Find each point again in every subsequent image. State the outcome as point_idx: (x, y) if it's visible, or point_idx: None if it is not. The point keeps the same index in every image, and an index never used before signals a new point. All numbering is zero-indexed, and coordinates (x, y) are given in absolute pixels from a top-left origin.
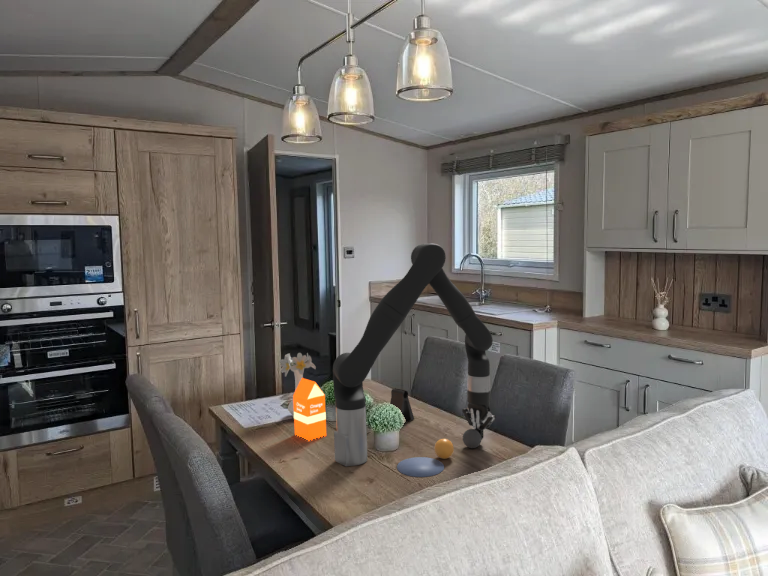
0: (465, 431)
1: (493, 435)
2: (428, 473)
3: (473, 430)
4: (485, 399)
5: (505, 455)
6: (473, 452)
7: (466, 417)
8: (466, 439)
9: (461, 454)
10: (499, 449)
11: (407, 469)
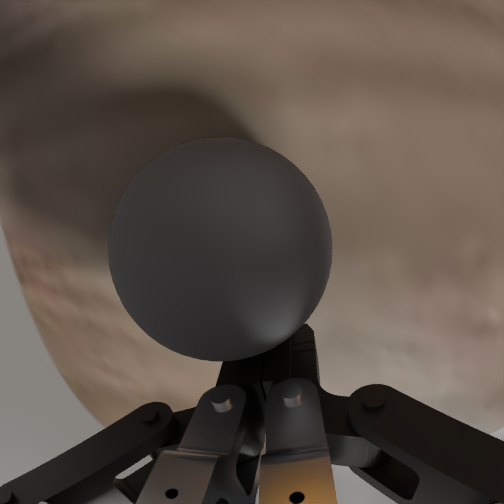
0: (282, 221)
1: None
2: None
3: (154, 298)
4: None
5: (46, 312)
6: None
7: (470, 443)
8: (177, 146)
9: (158, 60)
10: (124, 351)
11: None
